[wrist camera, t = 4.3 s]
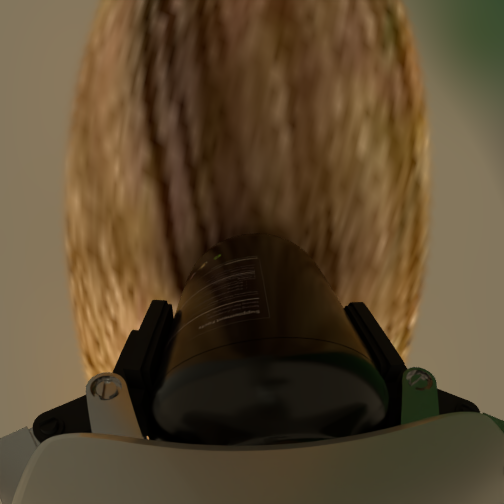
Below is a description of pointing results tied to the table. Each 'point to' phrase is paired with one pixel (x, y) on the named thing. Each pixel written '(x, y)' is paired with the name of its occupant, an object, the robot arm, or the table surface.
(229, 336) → the supplement bottle
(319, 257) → the table surface
